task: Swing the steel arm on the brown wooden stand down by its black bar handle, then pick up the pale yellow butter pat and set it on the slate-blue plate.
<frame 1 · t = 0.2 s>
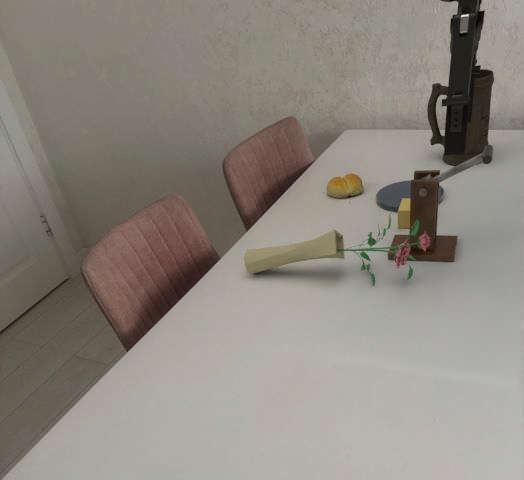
hand: (458, 137, 74), 24 cm above the table, tool pointing down, fingers open, 13 cm apart
flower vase: (333, 277, 95), on the table
brown wooden stand: (422, 250, 97), on the table
plate: (409, 198, 116), on the table
beer stein: (454, 159, 129), on the table
bread roll: (345, 192, 125), on the table
butter pat: (410, 221, 107), on the table
slicer arm: (453, 171, 86), point 15 cm above the table, hinge at 28.0°
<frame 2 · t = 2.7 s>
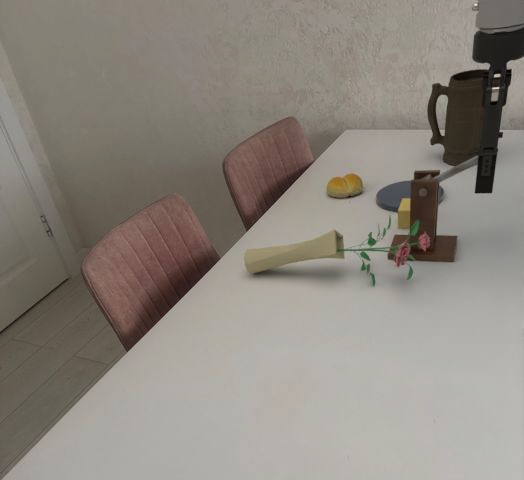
hand: (484, 185, 85), 13 cm above the table, tool pointing down, fingers closed on slicer arm, 5 cm apart
slicer arm: (453, 171, 86), point 15 cm above the table, hinge at 28.0°, touching gripper
everything else where it was.
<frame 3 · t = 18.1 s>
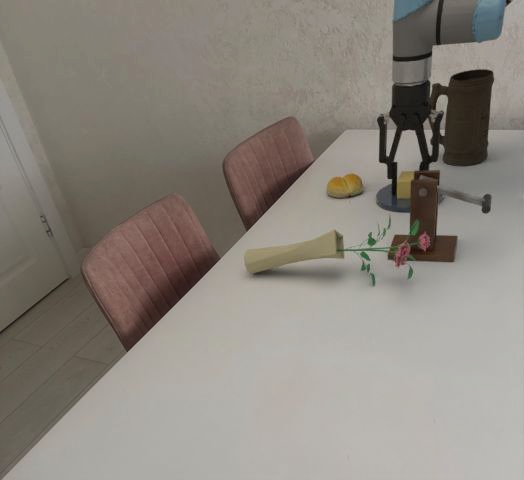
hand: (407, 191, 115), 2 cm above the table, tool pointing down, fingers open, 5 cm apart
butter pat: (408, 193, 115), point 1 cm above the table, touching gripper, plate
slicer arm: (453, 193, 88), point 11 cm above the table, hinge at -18.1°
everything else where it was.
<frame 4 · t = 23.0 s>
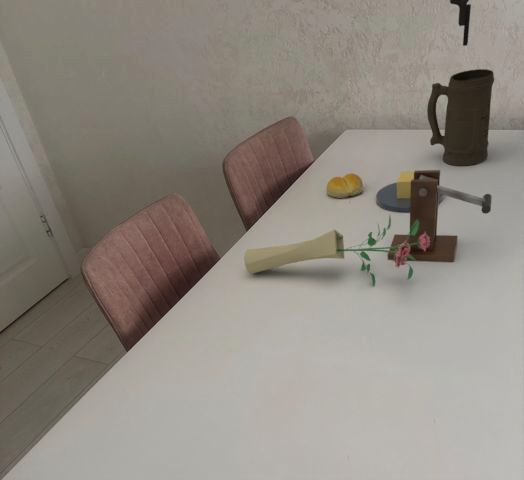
hand: (502, 40, 97), 29 cm above the table, tool pointing down, fingers open, 13 cm apart
butter pat: (408, 193, 115), point 1 cm above the table, touching plate
everything else where it was.
at the end: slicer arm at -18° (first picture: +28°); butter pat inside the target area on the plate (0.2 cm from its centre), point 1.2 cm above the plate's base; butter pat tilted 0° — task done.
